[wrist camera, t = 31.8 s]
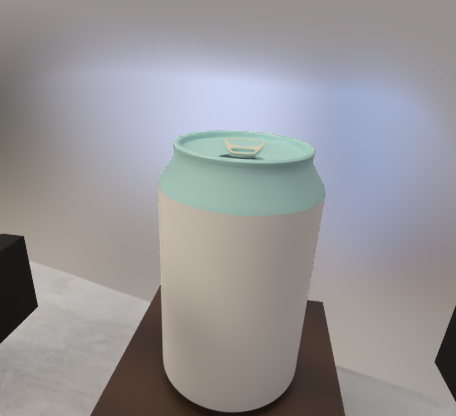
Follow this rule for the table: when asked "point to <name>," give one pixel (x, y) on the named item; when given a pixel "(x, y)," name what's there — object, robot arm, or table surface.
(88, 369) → the table surface
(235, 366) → the can
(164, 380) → the cabinet
